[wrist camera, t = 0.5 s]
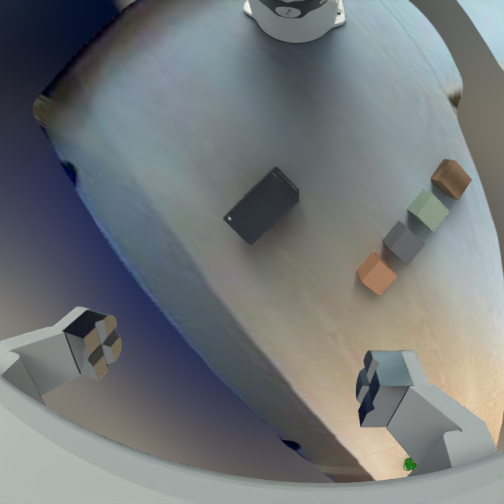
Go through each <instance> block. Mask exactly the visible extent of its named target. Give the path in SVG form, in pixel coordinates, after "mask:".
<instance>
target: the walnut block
mask: <svg viewBox="0 0 504 504" xmlns="http://www.w3.org/2000/svg"><path fill="white" fill-rule="evenodd" d="M431 179H432V180H433V181H434V183H435V184H436V185H437V186H438V187H439V188H440V189H441V190H442V191H443V192H444V193H445V194H446V195H447V196H449V197H452V198H454V199H457V200H459V198H460V197H461V195H462V194H463V192H464V191H465V189H466V188H467V186H468V185H469V183H470V182H471V180H472V179H471V178H470V177H469V176H468V175H467V173H466V172H465V171H464V170H463V169H462V167H461V166H460V165H459V164H458V163H457V162H456V161H453V160H447V159H444V160H443V161H442V162H441V164H440V165H439V167H438V168H437V170H436V171H435V173H434V174H433V176H432V177H431Z"/></svg>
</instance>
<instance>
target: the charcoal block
mask: <svg viewBox="0 0 504 504" xmlns="http://www.w3.org/2000/svg"><path fill="white" fill-rule="evenodd" d="M383 242H384V243H385V244H386V245H387V247H388V248H389V249H390V250H391V251H392V252H393V253H394V254H395V255H397V256H398V257H399V258H400V259H401V260H402V261H403V262H404V263H406V264H407V265H408V264H409V263H410V262H411V261H412V259H413V258H414V257H415V256H416V255H417V253H418V252H419V251H420V250H421V248H422V247H423V246H424V245H425V244H424V243H423V242H422V241H421V240H420V239H419V238H418V237H417V236H415V235H414V234H413V233H412V232H411V231H410V230H409V229H408V228H407V227H406V226H405V225H403V224H402V223H401V222H400V221H398V222H397V223H396V225H395V226H394V227H393V228H392V230H391V231H390V232H389V233H388V235H387V236H386V237H385V238H384V240H383Z"/></svg>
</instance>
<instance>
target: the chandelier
mask: <svg viewBox="0 0 504 504" xmlns="http://www.w3.org/2000/svg"><path fill="white" fill-rule="evenodd" d="M406 460H407V463H406ZM406 460H405V465H406V469H407V470H405V469H404V470H405V471H409V470H411V469H412V471H413V470H414V469H415V467H416V466H417V464H416V463H415V462H414V461H413V463H412V458H409V459H406ZM405 465H404V466H405ZM411 465H412V468H411ZM410 468H411V469H410Z"/></svg>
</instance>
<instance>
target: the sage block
mask: <svg viewBox="0 0 504 504" xmlns="http://www.w3.org/2000/svg"><path fill="white" fill-rule="evenodd" d="M407 210H409V211H410V212H411V213H412V214H413V215H414V216H415V217H416V218H417V219H418V220H419V221H420V222H421V223H422V224H423V225H424V226H425V227H427V228H428V229H430V230H431V231H432V232H435V231H436V229H437V228H438V227H439V225H440V224H441V223H442V221H443V220H444V219H445V217H446V216H447V215H448V213H449V210H448V209H447V208H446V207H445V206H444V205H443V204H442V203H441V202H440V201H439V200H438V199H437V197H436V196H435V195H434V194H433V193H430V192H428V191H425V190H423V189H422V190H421V192H420V193H419V194H418V196H417V197H416V198H415V200H414V201H413V202H412V204H411V205H410V206H409V208H408V209H407Z"/></svg>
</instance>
